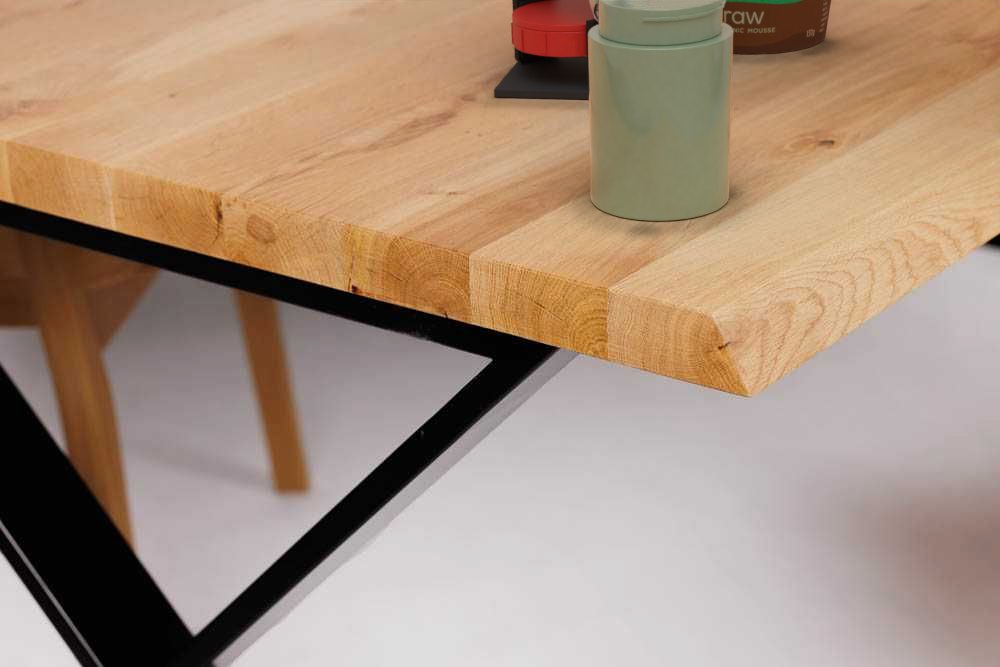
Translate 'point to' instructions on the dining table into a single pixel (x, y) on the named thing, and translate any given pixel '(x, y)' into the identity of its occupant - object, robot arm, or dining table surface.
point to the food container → (776, 24)
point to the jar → (660, 108)
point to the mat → (546, 79)
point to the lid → (551, 28)
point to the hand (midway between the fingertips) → (573, 69)
